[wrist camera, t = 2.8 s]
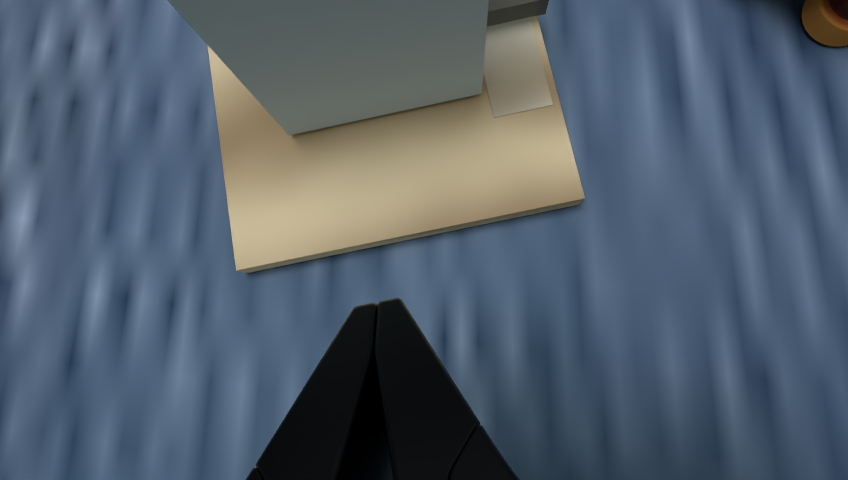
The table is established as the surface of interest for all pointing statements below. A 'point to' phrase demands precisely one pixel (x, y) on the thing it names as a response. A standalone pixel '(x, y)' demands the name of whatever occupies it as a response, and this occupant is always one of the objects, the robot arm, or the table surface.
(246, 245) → the gauge track
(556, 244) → the table surface
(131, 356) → the table surface
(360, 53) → the grey block
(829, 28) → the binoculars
